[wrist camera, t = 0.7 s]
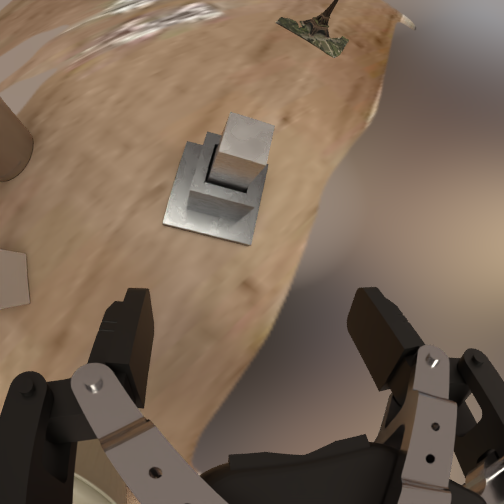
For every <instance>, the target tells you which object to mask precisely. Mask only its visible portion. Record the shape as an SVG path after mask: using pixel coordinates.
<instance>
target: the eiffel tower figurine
mask: <svg viewBox="0 0 504 504" xmlns="http://www.w3.org/2000/svg"><path fill="white" fill-rule="evenodd" d="M337 2H338V0H334V1H333V3H332V4H331V5H330V6H329V7H328V8H327V9H326V10H325V11H324V12H323V13H321V14H320V15H319V16H317V17H313V18H312V19H310V20H306V21H300V23H301V25H302V27H300V28H299V26H298V24H297V22H296V21H294V20H292V19H290V18H289V19H288V18H283V17H281V18H280V19H279V20H278V21H277V22H276V23H278V24H280V25H282V26H283V27H285V28H287V29H288V30H290V31H292V32H294V33H295V34H297V35H299V36H301V37H302V38H304V39H306V40H307V41H309V42H311V43H312V44H314V45H315V46H317V47H318V48H320V49H321V50H323V51H324V52H325V53H327V54H328V55H329V56H331V57H334V58H335V57H337V56H338V55H340V54H341V52H342V51H343V49H344V47H345V46H346V44H347V42H348V41H349V40H348V39H346V38H344V37H343V36H342V37H341V38H330V37H329V32H328V28H329V26H328V21H329V18H330V14H331V12H332V10H333V9H334V7H335V5H336V4H337Z"/></svg>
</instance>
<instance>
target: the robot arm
mask: <svg viewBox="0 0 504 504" xmlns="http://www.w3.org/2000/svg"><path fill="white" fill-rule="evenodd" d="M32 150H33V138H32V135H31V134H30V132H29V131H28V130H27V128H26V127H25V126H24V125H23V124H22V123H21V121H20V120H19V119H18V118H17V117H16V115H15V114H14V113H13V112H12V111H11V109H10V108H9V107H8V106H7V105H6V103H5V102H4V101H3V100H2V98H1V97H0V181H8V180H10V179H12V178H14V177H15V176H17V175H18V174H19V173H20V172H21V171H22V170H23V169H24V167H25V166H26V164H27V163H28V161H29V159H30V156H31V153H32ZM347 328H348V332H349V334H350V335H351V338H352V339H353V341H354V343H355V345H356V347H357V349H358V351H359V353H360V355H361V357H362V358H363V360H364V362H365V364H366V366H367V368H368V370H369V372H370V374H371V376H372V378H373V380H374V382H375V384H376V386H377V388H378V390H379V391H383V390H387V389H391V391H392V393H391V394H390V396H389V398H388V402H387V406H386V410H385V414H384V417H383V421H382V424H381V427H380V431H379V433H378V436H377V438H376V439H375V441H374V442H368V439H367V437H366V434H364V435H360V436H356V437H352V438H347V439H343V440H339V441H335V442H333V443H331V444H329V445H327V446H325V447H322V448H320V449H318V450H316V451H314V452H311V453H309V454H306V455H290V454H279V453H268V452H261V453H250V454H234V455H229V458H228V463H226V464H222V465H219V466H217V467H214V468H212V469H210V470H208V471H206V472H204V473H203V474H201V475H200V476H199V475H198V474H197V473H196V472H195V471H194V470H193V469H192V468H191V466H190V465H189V464H188V463H187V462H186V461H185V460H184V459H183V458H182V457H181V456H180V454H179V453H178V452H177V451H176V450H175V449H174V448H173V446H172V445H171V444H170V443H169V442H168V441H167V439H166V438H165V437H164V436H163V435H162V433H161V432H160V431H159V430H158V428H157V427H156V426H155V425H154V424H153V423H152V422H151V421H150V420H147V419H146V418H145V417H144V416H143V415H142V413H141V412H140V411H139V409H138V408H144V403H145V395H146V386H147V379H148V371H149V364H150V357H151V351H152V344H153V338H154V320H153V313H152V306H151V299H150V292H149V289H146V288H128V290H127V293H126V295H125V298H124V301H123V302H121V301H115V302H114V303H113V304H112V305H111V306H110V307H109V308H108V309H107V310H106V312H105V314H104V317H103V320H102V322H101V325H100V328H99V331H98V333H97V336H96V339H95V342H94V345H93V348H92V351H91V354H90V357H89V360H88V363H87V364H86V365H83V366H81V367H80V368H78V369H77V370H76V371H75V373H74V374H73V376H72V378H70V379H65V380H58V381H51V382H46V380H45V379H44V377H43V376H42V375H41V374H39V373H37V372H34V371H28V372H24V373H21V374H19V375H18V376H17V377H16V378H15V379H14V380H13V381H12V383H11V385H10V388H9V391H8V393H7V396H6V399H5V402H4V405H3V409H2V412H1V415H0V504H73V485H74V472H75V461H76V452H77V444H78V441H85V440H92V439H98V440H99V441H100V443H101V444H100V445H101V447H102V449H103V450H104V452H105V454H106V455H107V457H108V458H109V460H110V461H111V463H112V464H113V466H114V467H115V469H116V470H117V472H118V473H119V475H120V476H121V478H122V479H123V481H124V482H125V483H126V485H127V486H128V487H129V489H130V490H131V491H132V493H133V494H134V495H135V497H136V498H137V499H138V501H139V502H140V503H141V504H504V382H503V380H502V378H501V377H500V376H499V374H498V372H497V371H496V370H495V368H494V367H493V365H492V364H491V362H490V361H489V360H488V358H487V357H486V355H484V354H483V353H482V352H481V351H479V350H476V349H472V348H471V349H467V350H466V351H465V352H464V354H463V356H462V357H461V358H448V356H447V355H446V354H445V352H444V351H443V350H441V349H440V348H438V347H436V346H433V345H425V344H424V342H423V341H422V339H421V338H420V337H419V335H418V334H417V332H416V331H415V330H414V328H413V327H412V326H411V324H410V323H409V322H408V320H407V319H406V318H405V316H403V314H402V312H401V311H400V310H399V308H398V307H397V306H396V305H395V304H394V303H392V302H391V301H390V300H388V299H386V298H385V297H384V295H383V294H382V293H381V292H380V290H379V289H378V288H377V287H365V288H358V290H357V291H356V294H355V297H354V300H353V303H352V306H351V309H350V312H349V315H348V318H347ZM471 393H473V395H474V397H475V398H476V400H477V402H478V404H479V405H480V407H481V409H482V418H481V420H480V421H479V422H478V423H476V421H475V419H474V417H473V415H472V413H471V411H470V410H469V408H468V406H467V405H466V402H465V400H466V399H467V397H468V396H469V395H470V394H471ZM453 451H454V452H455V455H456V457H457V459H458V462H459V464H460V466H461V469H462V471H463V474H464V476H465V478H466V481H465V483H464V484H463V485H460V484H458V483H456V482H454V481H452V480H450V479H449V477H450V472H451V465H452V458H453Z"/></svg>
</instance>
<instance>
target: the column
mask: <svg viewBox="0 0 504 504" xmlns="http://www.w3.org/2000/svg"><path fill="white" fill-rule="evenodd" d="M274 127H275V126H274V125H271V124H268V123H265V122H262V121H259V120H256V119H252V118H249V117H246V116H243V115H239V114H236V113H233V112H230V115H229V117H228V120H227V122H226V125H225V127H224V130H223V132H222V135H221V138H220V140H219V143H218V146H217V148H216V151H215V154H214V156H213V159H212V162H211V165H210V167H209V170H208V173H207V177H206V180H205V182H206V183H209V184H213V185H217V186H221V187H224V188H228V189H232V190H235V191H239V192H242V193H243V192H244V190H245V189H246V188H247V187H248V186H249V185H250V183H251V182H252V181H253V180H254V179H255V178H256V176H257V175H258V174H259V173H260V172H261V171H262V170H263V168H264V167H265V166H266V163H267V159H268V154H269V150H270V145H271V141H272V136H273V131H274Z"/></svg>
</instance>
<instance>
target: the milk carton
mask: <svg viewBox="0 0 504 504" xmlns="http://www.w3.org/2000/svg"><path fill="white" fill-rule="evenodd" d="M26 304H30V298H29V289H28V278H27V263H26V254H25V253H19V252H14V251H8V250H3V249H0V309H4V308H10V307H15V306H21V305H26Z"/></svg>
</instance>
